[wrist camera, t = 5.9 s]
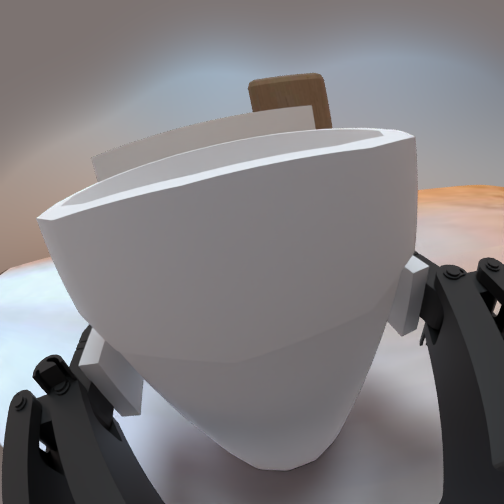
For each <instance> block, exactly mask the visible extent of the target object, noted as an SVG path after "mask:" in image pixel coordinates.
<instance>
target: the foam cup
mask: <svg viewBox="0 0 504 504" xmlns="http://www.w3.org/2000/svg"><path fill="white" fill-rule="evenodd" d="M417 182H418V181H417V154H416V141H415V136H412V135H410V134H408V133H405V132H403V131H400V130H388V129H374V128H340V129H339V128H338V129H318V130H306V131H296V132H287V133H279V134H272V135H265V136H259V137H253V138H247V139H242V140H236V141H231V142H226V143H222V144H217V145H213V146H209V147H204V148H200V149H196V150H192V151H189V152H185V153H181V154H177V155H174V156H171V157H167V158H164V159H161V160H158V161H155V162H151V163H148V164H145V165H142V166H139V167H136V168H134V169H131V170H128V171H126V172H123V173H120V174H118V175H115V176H113V177H110V178H108V179H105V180H103V181H101V182H98V183H96V184H94V185H91V186H89V187H87V188H85V189H83V190H81V191H79V192H77V193H75V194H73V195H71V196H69V197H67V198H65V199H64V200H62V201H60V202H58V203H57V204H55V205H54V206H52V207H51V208H49V209H48V210H47V211H46V212H44V213H43V214H41V215H40V216H39V217H37V218H36V219H37V221H38V224H39V227H40V230H41V233H42V235H43V238H44V240H45V243H46V245H47V248H48V250H49V253H50V255H51V258H52V260H53V262H54V264H55V267H56V269H57V271H58V273H59V275H60V277H61V279H62V282H63V284H64V286H65V288H66V290H67V292H68V293H69V295H70V297H71V299H72V301H73V303H74V305H75V307H76V308H77V310H78V312H79V313H80V315H81V316H82V317H83V318H84V319H85V320H86V321H87V322H88V323H89V324H90V325H91V326H92V327H93V328H94V329H95V330H96V332H97V333H98V334H99V335H100V336H101V337H102V338H103V339H104V340H105V341H107V342H108V343H109V344H110V345H111V346H112V347H113V348H114V349H115V350H116V351H119V352H120V353H121V354H122V355H123V356H124V358H125V359H126V360H127V361H128V362H129V363H130V364H131V365H132V366H133V368H134V369H135V370H136V371H137V372H138V373H139V374H140V375H141V376H142V377H143V378H144V379H145V380H146V381H147V382H148V383H149V384H150V385H151V386H152V387H153V388H154V389H155V390H156V391H157V392H158V393H159V394H160V395H161V396H162V397H163V398H164V399H165V400H166V401H167V402H168V403H169V404H170V405H172V406H173V407H174V408H175V409H176V410H177V411H178V412H179V413H180V414H182V415H183V416H184V417H185V418H186V419H187V420H189V421H190V422H191V423H192V424H193V425H194V426H196V427H197V428H198V429H199V430H201V431H202V432H203V433H204V434H206V435H207V436H208V437H209V438H211V439H212V440H213V441H215V442H216V443H217V444H219V445H220V446H221V447H223V448H224V449H225V450H227V451H228V452H229V453H231V454H233V455H234V456H236V457H237V458H239V459H241V460H243V461H244V462H246V463H248V464H250V465H252V466H254V467H255V468H257V469H264V470H282V471H288V470H291V469H294V468H297V467H299V466H302V465H305V464H307V463H310V462H312V461H315V460H316V459H317V458H318V457H319V456H320V455H321V454H322V453H323V452H324V451H325V450H326V449H327V448H328V447H329V446H330V445H331V444H332V443H333V442H334V441H335V438H336V437H337V436H338V434H339V432H340V430H341V428H342V427H343V425H344V423H345V421H346V419H347V417H348V415H349V413H350V411H351V409H352V407H353V405H354V403H355V401H356V398H357V396H358V394H359V392H360V390H361V387H362V385H363V383H364V381H365V378H366V376H367V374H368V371H369V369H370V366H371V364H372V361H373V359H374V356H375V354H376V351H377V348H378V346H379V343H380V340H381V337H382V334H383V332H384V329H385V326H386V323H387V320H388V316H389V313H390V310H391V307H392V303H393V300H394V297H395V293H396V289H397V286H398V282H399V278H400V274H401V271H402V270H403V268H404V267H405V265H406V264H407V263H408V261H409V260H410V258H411V257H412V255H413V254H414V252H415V242H416V227H417V199H418V188H417V187H418V183H417Z"/></svg>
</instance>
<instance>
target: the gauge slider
mask: <svg viewBox="0 0 504 504" xmlns="http://www.w3.org/2000/svg"><path fill="white" fill-rule="evenodd" d="M306 130H316V128H315V122H314V116H313V110H312V105H308V106H298V107H288V108H280V109H272V110H265V111H258V112H252V113H247V114H241V115H235V116H230V117H225V118H220V119H215V120H210V121H206V122H202V123H197V124H194V125H189V126H186V127H182V128H178V129H174V130H170V131H167V132H163V133H160V134H157V135H153V136H150V137H147V138H144V139H141V140H138V141H135V142H132V143H129V144H126V145H123V146H120V147H118V148H115V149H112V150H109V151H107V152H104V153H101V154H99V155H96V156H94V157H92V163H93V167H94V170H95V174H96V178H97V181H98V182H101V181H103V180H105V179H108V178H110V177H113V176H115V175H118V174H120V173H123V172H126V171H128V170H131V169H134V168H136V167H139V166H142V165H145V164H148V163H151V162H155V161H158V160H161V159H164V158H167V157H171V156H174V155H177V154H181V153H185V152H189V151H192V150H196V149H200V148H204V147H209V146H213V145H217V144H222V143H226V142H231V141H236V140H242V139H247V138H253V137H259V136H265V135H272V134H279V133H287V132H296V131H306Z"/></svg>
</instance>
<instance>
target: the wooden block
mask: <svg viewBox="0 0 504 504" xmlns="http://www.w3.org/2000/svg"><path fill="white" fill-rule="evenodd" d="M248 90H249V95H250V100H251V105H252V110H253V112H258V111H265V110H272V109H280V108H288V107H298V106H308V105H312V110H313V116H314V122H315V128H316V130H318V129H332V123H331V116H330V111H329V104H328V99H327V94H326V88H325V83H324V79H323V77H322V76H321V75H320V74H317V73H307V74H296V75H286V76H278V77H270V78H264V79H257V80H253V81H252V82H250V83H249V87H248Z"/></svg>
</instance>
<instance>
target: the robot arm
mask: <svg viewBox="0 0 504 504" xmlns="http://www.w3.org/2000/svg"><path fill="white" fill-rule="evenodd" d="M497 300H498V301H499V303H500V304H501V308H500V311H499V313H498V315H495V314H494V313H493V311H494V308H495V305H496V302H497ZM419 317H421V318H422V319H423V320H424V321H425V325H424V328H423V332H422V336H421V339H420V346H421V345H423V341H424V339H425V338H426V345H427V346H428V350H429V355H430V359H431V364H432V369H433V374H434V379H435V385H436V391H437V397H438V404H439V411H440V420H441V430H442V442H443V466H444V483H443V497H442V500H441V502H440V503H439V504H504V264H502V263H501V262H499V261H498V260H495V259H494V258H483V259H481V260H480V261H479V263H478V268H477V271H474V272H469V273H467V272H466V271H465V270H464V269H462V268H460V267H458V266H455V265H443V266H440V267H439V266H437V265H436V264H434V263H433V262H431V261H430V260H428V259H427V258H425V257H424V256H422V255H421V254H418V253H417V252H416V251H415V252H414V254H413V255H412V257H411V258H410V260H409V261H408V263H407V264H406V265H405V267H404V268H403V270H402V271H401V274H400V278H399V282H398V286H397V289H396V293H395V297H394V300H393V303H392V307H391V310H390V313H389V316H388V320H387V321H388V322H389V324H390V325H391V326H392V327H393V328H394V329H395V330H396V331H397V332H398V333H399V334H400V335H401V336H404V335H406V334H408V333H410V332H412V331H414V330H415V329H417V325H418V321H419ZM33 378H34V380H35V381H36V382H37V383H38V384H39V385H40V387H41V388H42V389H43V390H44V391H45V392H46V393H47V395H44V396H42V397H39V398H36V397H35V396H34V395H33V394H32V393H31V392H30V391H28V390H22V391H20V392H18V393H17V394H15V396H14V397H13V399H12V401H11V403H10V406H9V411H8V417H7V423H6V430H5V438H4V448H3V462H2V463H3V464H2V499H3V504H165V503H164V502H163V500H162V499H161V497H160V496H159V494H158V493H157V492H156V490H155V488H154V487H153V485H152V484H151V482H150V481H149V479H148V477H147V476H146V474H145V473H144V471H143V469H142V468H141V466H140V464H139V462H138V461H137V459H136V457H135V455H134V453H133V451H132V450H131V448H130V446H129V444H128V442H127V440H126V438H125V436H124V434H123V432H122V430H121V428H120V426H119V423H118V422H117V421H116V420H115V419H114V418H113V410H114V408H115V410H116V411H117V412H118V413H119V414H120V415H121V416H134V415H141V402H142V390H143V380H144V378H143V377H142V376H141V375H140V374H139V373H138V372H137V371H136V370H135V369H134V368H133V366H132V365H131V364H130V363H129V362H128V361H127V360H126V359H125V358H124V356H123V355H122V354H121V353H120V352H119V351H116V350H115V349H114V348H113V347H112V346H111V345H110V344H109V343H108V342H107V341H105V340H104V339H103V338H102V337H101V336H100V335H99V334H98V333H97V332H96V330H95V329H94V328H93V327H92V326H91V325H90V324H89V326H88V327H87V328H86V329H85V330H84V332H83V333H82V335H81V338H80V340H79V343H78V345H77V348H76V351H75V353H74V355H73V358H72V361H71V363H70V366H69V367H68V365H67V364H66V363H65V361H64V360H63V359H62V357H61V356H59V355H50V356H48V357H46V358H44V359H43V360H42V361H40V363H39V364H38V365H37V366H36V368H35V370H34V372H33ZM39 441H41V442H42V443H43V444H44V445H46V452H45V451H43V450H42V449H40V448H39Z"/></svg>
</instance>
